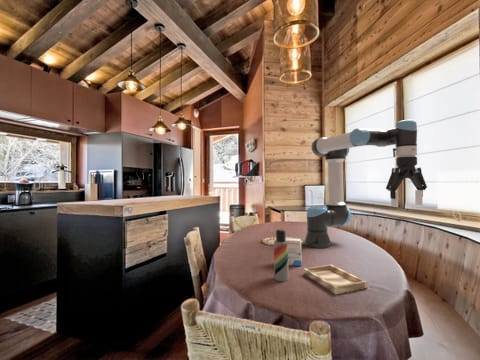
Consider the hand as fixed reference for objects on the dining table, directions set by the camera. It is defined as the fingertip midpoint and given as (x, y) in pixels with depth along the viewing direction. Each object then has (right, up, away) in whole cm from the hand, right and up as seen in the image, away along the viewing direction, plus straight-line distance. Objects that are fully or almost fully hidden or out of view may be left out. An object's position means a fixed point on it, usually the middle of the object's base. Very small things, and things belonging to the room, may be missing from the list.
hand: (406, 205), depth 110 cm
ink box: (-48, -29, +10) cm, 57 cm away
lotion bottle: (-56, -29, -7) cm, 63 cm away
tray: (-36, -29, -10) cm, 47 cm away
